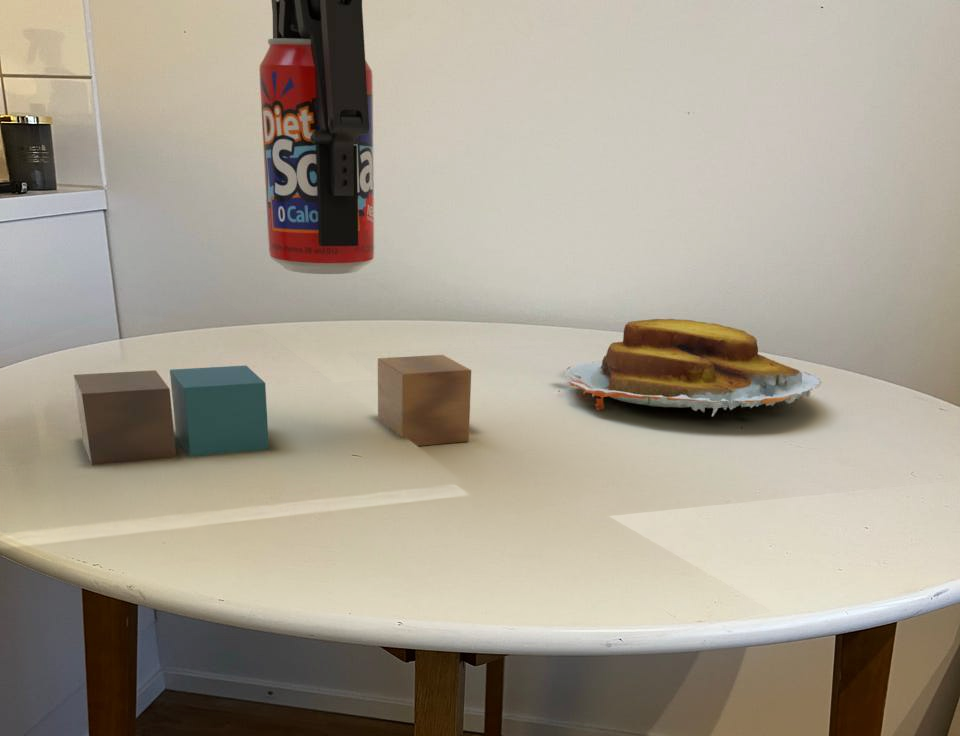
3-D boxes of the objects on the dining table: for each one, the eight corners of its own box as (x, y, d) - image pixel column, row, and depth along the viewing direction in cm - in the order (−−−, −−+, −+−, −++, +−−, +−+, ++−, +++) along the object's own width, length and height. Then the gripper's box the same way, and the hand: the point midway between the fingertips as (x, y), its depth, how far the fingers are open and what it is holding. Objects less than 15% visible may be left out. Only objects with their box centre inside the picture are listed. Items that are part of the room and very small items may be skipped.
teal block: (191, 467, 77) (183, 387, 74) (176, 445, 81) (169, 369, 79) (269, 460, 79) (265, 382, 76) (251, 438, 84) (246, 365, 81)
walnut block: (93, 476, 74) (81, 393, 71) (84, 452, 79) (73, 374, 76) (177, 468, 76) (169, 388, 73) (164, 446, 81) (156, 370, 78)
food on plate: (593, 434, 89) (600, 358, 86) (537, 371, 111) (541, 308, 108) (864, 433, 93) (880, 360, 90) (758, 371, 114) (768, 311, 111)
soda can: (351, 260, 82) (347, 45, 75) (390, 274, 76) (390, 42, 69) (256, 263, 78) (243, 38, 72) (289, 278, 72) (278, 34, 66)
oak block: (402, 447, 83) (402, 374, 80) (377, 428, 88) (377, 358, 85) (469, 441, 85) (471, 369, 83) (441, 423, 90) (443, 354, 88)
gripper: (423, -161, 59) (418, 255, 69) (319, -106, 75) (328, 223, 86) (297, -181, 56) (312, 257, 66) (217, -120, 72) (239, 224, 83)
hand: (321, 238), depth 76 cm, fingers closed on soda can, 8 cm apart
